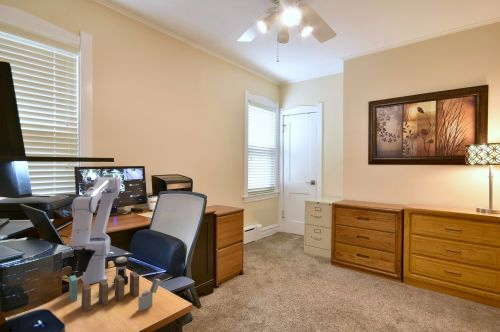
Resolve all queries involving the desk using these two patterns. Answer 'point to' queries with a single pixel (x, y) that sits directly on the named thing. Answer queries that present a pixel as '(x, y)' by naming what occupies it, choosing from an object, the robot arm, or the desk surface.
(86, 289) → the row domino
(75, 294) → the domino
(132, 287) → the domino
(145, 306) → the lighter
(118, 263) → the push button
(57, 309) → the desk surface
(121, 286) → the row domino
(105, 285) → the row domino
